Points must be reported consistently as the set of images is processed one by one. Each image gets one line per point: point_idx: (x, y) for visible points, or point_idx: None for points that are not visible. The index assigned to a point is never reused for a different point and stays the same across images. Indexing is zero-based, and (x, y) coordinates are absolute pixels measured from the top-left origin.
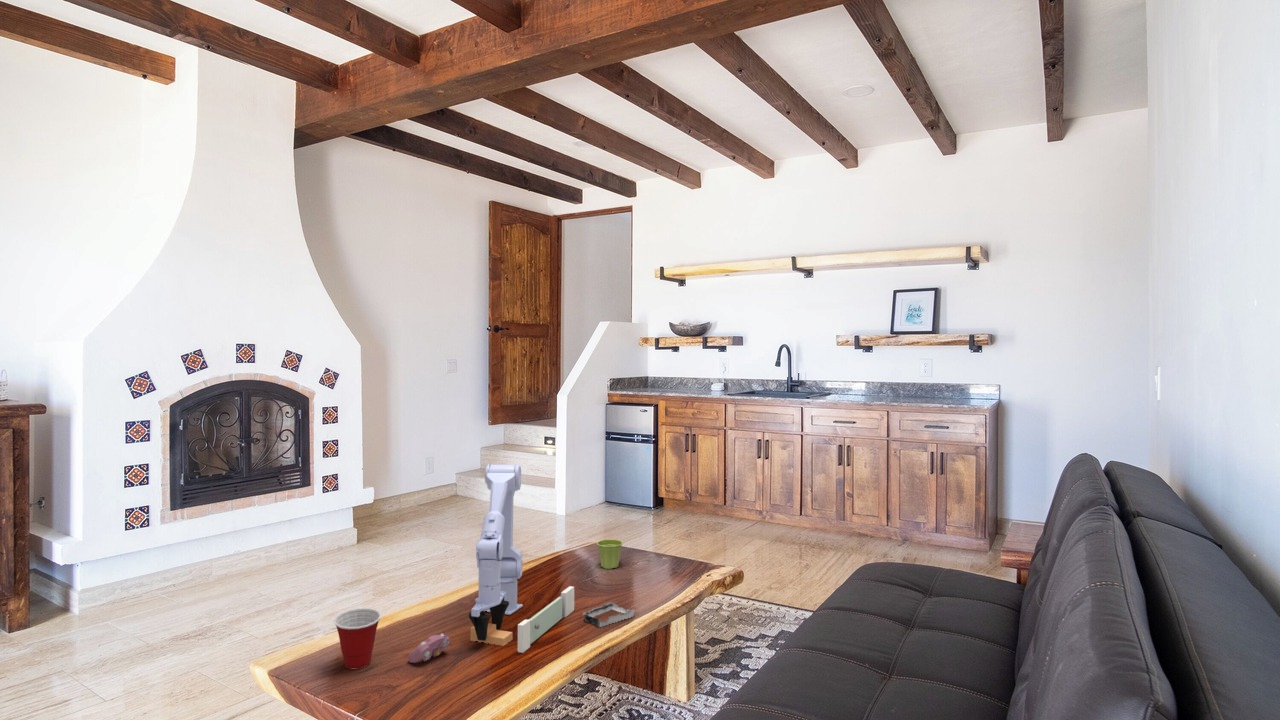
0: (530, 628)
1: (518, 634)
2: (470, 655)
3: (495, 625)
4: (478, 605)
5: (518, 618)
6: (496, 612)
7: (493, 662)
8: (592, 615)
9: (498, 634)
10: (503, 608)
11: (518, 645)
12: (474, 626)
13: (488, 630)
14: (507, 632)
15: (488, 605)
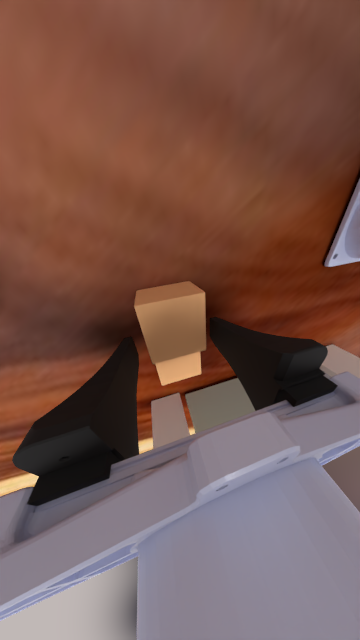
0: (195, 431)
1: (153, 444)
2: (64, 358)
3: (201, 348)
4: (63, 583)
5: (301, 297)
6: (242, 361)
7: None
8: None
9: (175, 363)
10: (252, 399)
11: (152, 416)
12: (98, 373)
13: (159, 360)
14: (195, 368)
15: (133, 556)
